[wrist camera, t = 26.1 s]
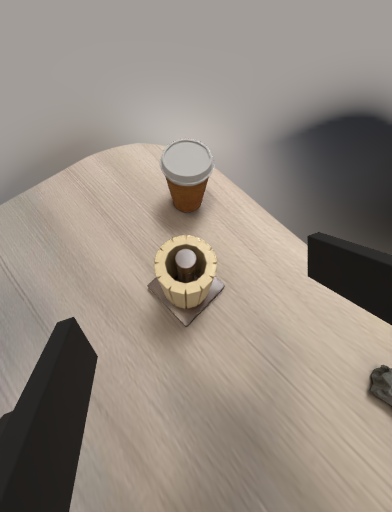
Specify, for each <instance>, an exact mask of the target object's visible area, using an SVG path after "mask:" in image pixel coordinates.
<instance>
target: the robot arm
mask: <svg viewBox="0 0 392 512" xmlns="http://www.w3.org/2000/svg"><path fill="white" fill-rule="evenodd" d="M308 277H310V278H312V279H313V280H315V281H317V282H319V283H320V284H322V285H324V286H325V287H327V288H329V289H331V290H332V291H334V292H336V293H337V294H339V295H341V296H342V297H344V298H346V299H348V300H349V301H351V302H353V303H354V304H356V305H358V306H360V307H361V308H363V309H365V310H366V311H368V312H370V313H371V314H373V315H375V316H377V317H378V318H380V319H382V320H383V321H385V322H387V323H389V324H390V325H392V255H390V254H387V253H383V252H380V251H377V250H374V249H371V248H368V247H364V246H361V245H358V244H355V243H352V242H349V241H345V240H342V239H339V238H336V237H333V236H330V235H327V234H323V233H320V232H318V233H315V234H312V235H309V236H308ZM97 358H98V356H97V354H96V353H95V351H94V349H93V348H92V346H91V344H90V343H89V341H88V339H87V338H86V336H85V334H84V333H83V331H82V329H81V328H80V326H79V324H78V323H77V321H76V319H75V318H74V317H72V318H69V319H66V320H63V321H60V322H57V324H56V326H55V328H54V330H53V332H52V334H51V336H50V338H49V340H48V342H47V344H46V346H45V348H44V350H43V352H42V354H41V356H40V358H39V360H38V362H37V364H36V366H35V368H34V370H33V372H32V374H31V376H30V378H29V380H28V382H27V384H26V386H25V388H24V390H23V392H22V394H21V396H20V398H19V400H18V402H17V404H16V406H15V408H14V410H13V411H12V412H9V413H7V414H4V415H3V416H2V417H1V419H0V512H69V509H70V503H71V498H72V493H73V487H74V482H75V476H76V471H77V466H78V460H79V455H80V449H81V444H82V439H83V433H84V428H85V422H86V417H87V412H88V406H89V401H90V395H91V390H92V385H93V379H94V374H95V368H96V363H97Z"/></svg>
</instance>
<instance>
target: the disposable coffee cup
mask: <svg viewBox="0 0 392 512" xmlns="http://www.w3.org/2000/svg"><path fill="white" fill-rule="evenodd" d="M160 167H161V170H162V172H163V174H164V175H165V177H166V180H167V183H168V186H169V190H170V193H171V196H172V199H173V203H174V205H175V207H176V208H177V209H179V210H180V211H183V212H192V211H195V210H196V209H198V208H199V206H200V205H201V202H202V198H203V195H204V192H205V188H206V185H207V182H208V178H209V176H210V174H211V173H212V171H213V168H214V160H213V157H212V154H211V152H210V150H209V148H208V147H207V146H206V145H204V144H203V143H201V142H199V141H197V140H193V139H180V140H177V141H174V142H172V143H170V144H169V145H168V146H167V147H166V148H165V149H164V151H163V153H162V156H161V159H160Z"/></svg>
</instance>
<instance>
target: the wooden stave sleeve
mask: <svg viewBox="0 0 392 512" xmlns="http://www.w3.org/2000/svg"><path fill="white" fill-rule="evenodd" d="M172 241H173V242H172ZM172 241H171V240H170V239H169V240H168V241H167V242H166V243H165V244H163V245H162V246H161V247H160V249H161V250H158V252H157V255H156V258H155V260H154V262H155V264H154V267H155V272H156V277H157V279H158V281H159V283H160V285H161V287H162V289H163V291H164V293H165V296H166V298H167V299H168V300H169V301H170V302H171V303H172V304H173V305H174V304H175V306H177V307H180V308H184V309H185V308H186V306H187V309H188V308H192V307H196V306H197V304H198V305H199V304H200V303H201V302H202V301H203V300H204V299H205V298H206V296H207V294H208V292H209V289H210V287H211V284H212V282H213V280H214V277H215V273H216V269H217V259H216V256H215V253H214V250H211V249H212V247H210V246H209V245H208V244H207V243H206V242H205V241H204V240H203V239H202V240H201V241H200V238H198V237H194V236H190V235H187V238H186V237H185V235H182V236H178V237H173V238H172ZM182 249H189V250H192V251H193V252H194V253H195V255H196V268H195V275H196V276H197V277H198V278H199V279H198V280H197V281H193V282H189V283H182V282H178V281H175V280H174V278H175V277H176V276H177V268H176V261H175V257H176V254H177V253H178V252H179V251H180V250H182Z"/></svg>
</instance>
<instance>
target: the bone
mask: <svg viewBox="0 0 392 512" xmlns="http://www.w3.org/2000/svg"><path fill="white" fill-rule="evenodd" d="M372 380H373V386H372V387H371V391H372V392H373V394H374V395H375V396H376V397H378V398H380V399H382V400H384V401H385V402H387V403H388V404H390V405H391V406H392V368H389V367H388V366H385V365H381V367H380V368H376V369H375V370H374V371H373V374H372Z"/></svg>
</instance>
